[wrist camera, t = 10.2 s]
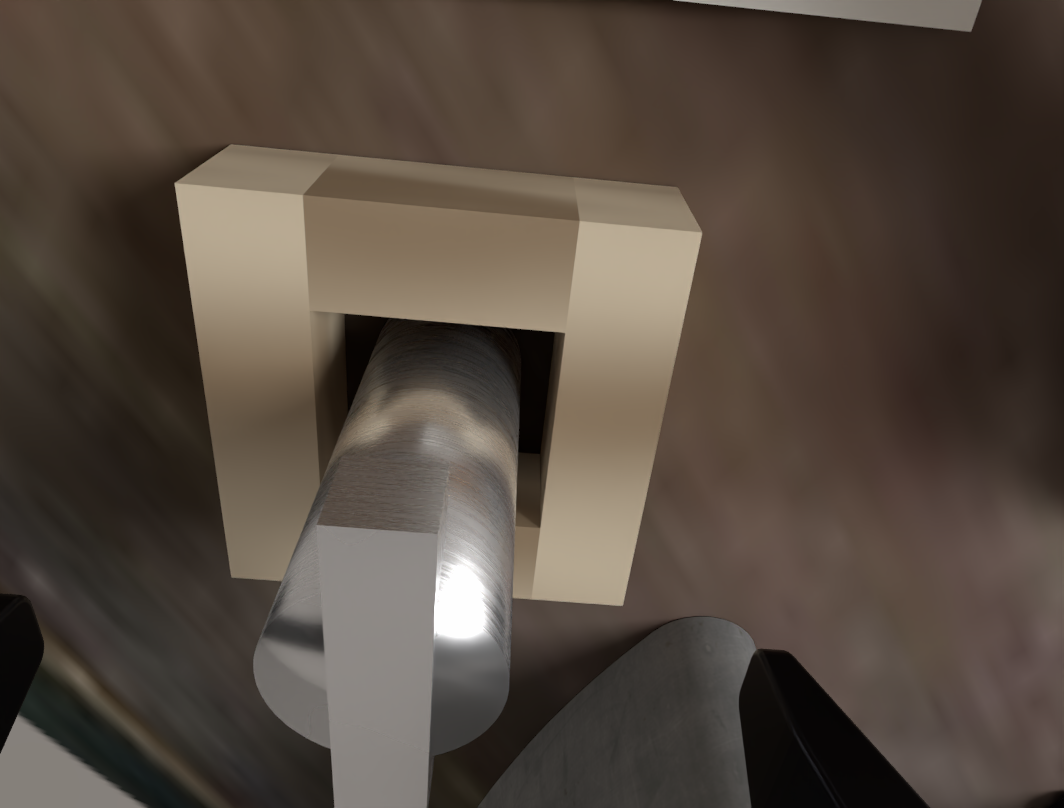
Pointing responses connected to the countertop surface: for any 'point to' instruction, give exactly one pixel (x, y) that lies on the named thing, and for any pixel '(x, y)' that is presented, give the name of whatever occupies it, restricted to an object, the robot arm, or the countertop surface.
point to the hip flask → (645, 730)
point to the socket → (443, 296)
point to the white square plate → (874, 10)
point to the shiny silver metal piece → (405, 567)
